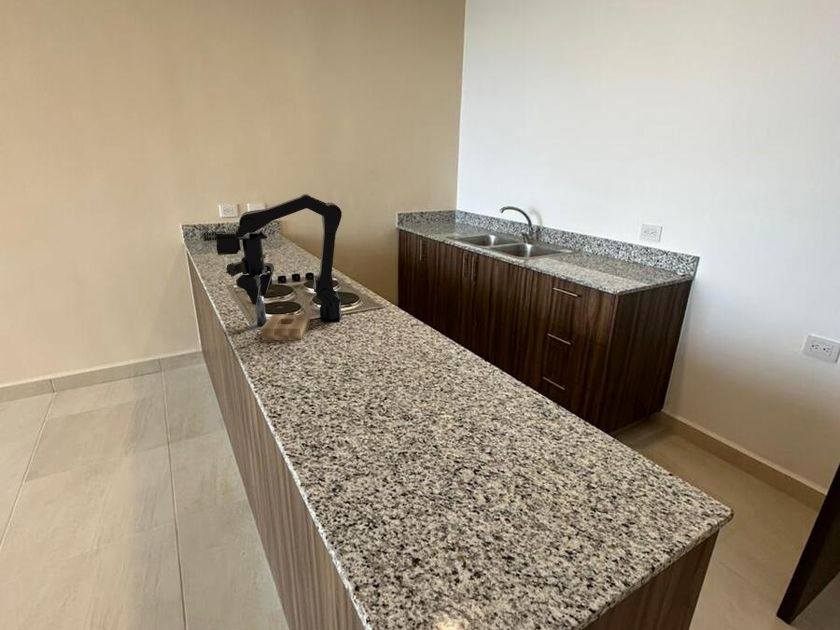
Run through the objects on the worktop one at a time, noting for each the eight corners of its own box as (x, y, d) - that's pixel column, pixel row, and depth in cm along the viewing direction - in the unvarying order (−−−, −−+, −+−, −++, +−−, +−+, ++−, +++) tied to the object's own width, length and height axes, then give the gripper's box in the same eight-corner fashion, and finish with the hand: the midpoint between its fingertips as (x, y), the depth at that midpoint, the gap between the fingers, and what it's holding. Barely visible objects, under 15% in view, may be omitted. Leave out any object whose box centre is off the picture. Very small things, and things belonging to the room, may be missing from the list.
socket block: (309, 326, 154) (309, 314, 153) (301, 340, 143) (300, 328, 142) (274, 325, 154) (272, 314, 153) (262, 340, 143) (261, 328, 142)
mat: (276, 321, 158) (276, 320, 158) (268, 330, 151) (268, 329, 151) (255, 321, 158) (255, 320, 158) (247, 330, 151) (247, 329, 151)
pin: (267, 323, 156) (264, 295, 152) (265, 326, 153) (261, 298, 149) (259, 323, 156) (255, 294, 152) (256, 326, 153) (252, 297, 149)
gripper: (238, 246, 155) (245, 290, 160) (215, 260, 137) (223, 309, 143) (272, 246, 154) (277, 291, 160) (253, 260, 137) (259, 309, 143)
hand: (259, 299), depth 151 cm, fingers open, 9 cm apart
